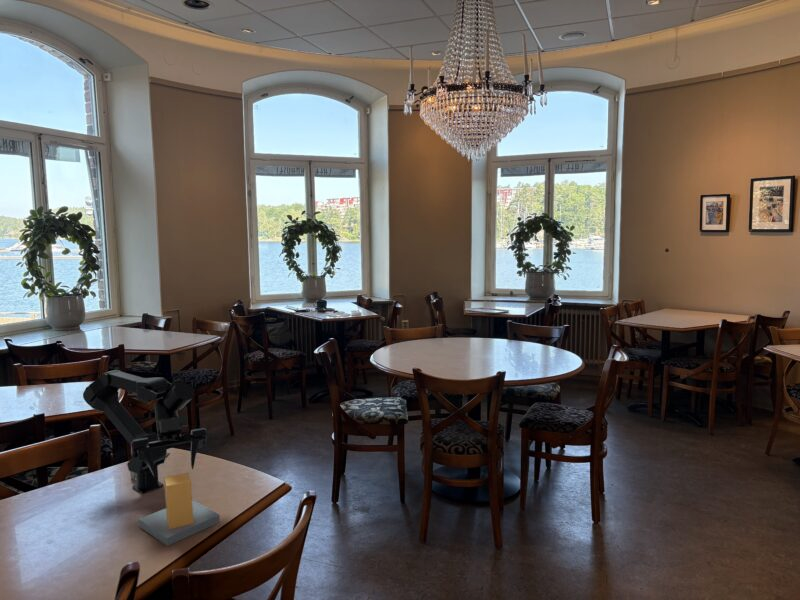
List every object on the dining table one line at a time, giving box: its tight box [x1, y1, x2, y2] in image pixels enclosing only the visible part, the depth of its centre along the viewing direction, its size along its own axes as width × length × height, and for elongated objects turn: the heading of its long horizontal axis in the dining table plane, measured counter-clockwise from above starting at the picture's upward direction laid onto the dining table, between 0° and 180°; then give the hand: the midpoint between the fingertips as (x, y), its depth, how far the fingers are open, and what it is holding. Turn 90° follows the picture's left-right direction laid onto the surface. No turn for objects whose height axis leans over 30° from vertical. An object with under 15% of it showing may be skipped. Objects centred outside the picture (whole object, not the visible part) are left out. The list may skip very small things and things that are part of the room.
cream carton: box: [163, 472, 193, 529], centre depth 136 cm, size 6×6×11 cm
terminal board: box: [138, 499, 221, 547], centre depth 139 cm, size 14×14×5 cm
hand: (174, 472), depth 143 cm, fingers open, 9 cm apart
